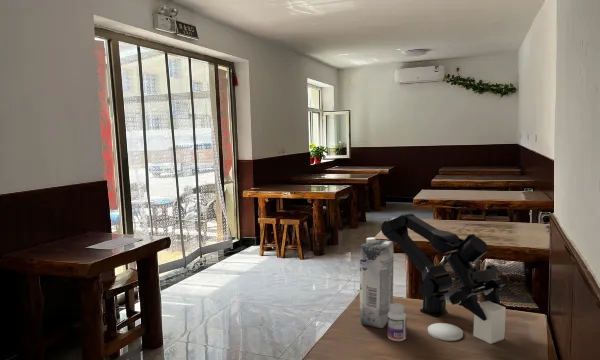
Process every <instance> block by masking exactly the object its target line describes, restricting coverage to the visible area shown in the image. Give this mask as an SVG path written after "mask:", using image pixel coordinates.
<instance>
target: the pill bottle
mask: <svg viewBox="0 0 600 360" xmlns="http://www.w3.org/2000/svg"><path fill="white" fill-rule="evenodd" d="M406 313H407V312H405V306H404V304H402V303H398V302H395V303H394V302H393V304H391V305H390V312H389V313H388V322H387V338H388V339H389V340H391V341H392V342H393V341H394V342H402V341H404V340H406V338H407V314H406Z"/></svg>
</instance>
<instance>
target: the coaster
mask: <svg viewBox="0 0 600 360" xmlns="http://www.w3.org/2000/svg"><path fill="white" fill-rule="evenodd" d="M427 333H428V335H430V337H433V338H435V339H437V340H440V341H447V342H449V341H450V342H452V341H453V342H454V341H459V340H460V339H462V338H463V336H464V331H463V330H462V329H461V328H460V327H458V325H457V326H456V325H454V324H451V323H446V322H445V323H444V322H437V323H432V324H430V325H429V326H428V327H427Z"/></svg>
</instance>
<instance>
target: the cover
mask: <svg viewBox="0 0 600 360" xmlns="http://www.w3.org/2000/svg"><path fill="white" fill-rule="evenodd" d="M478 303H479V305H480V307H481V308H482V310H483V312H484V314H485V316H486V318H487V320H485V321H483V320H482V319H480V318H479V317H478V316H476V315H475V314H474V313H473V332H472V333H473V335H472V336H473V337H476V338H477V339H480V340H482V341H484V342H486V343H488V344H490V345H491V344H494V343H497V342H500V341H503V340H504V339H505V329H506V310H507V309H506V308H507V307H506V306H503V305H498V304H495V303H493V302H490V301H486V300H485V301H482V302H478Z"/></svg>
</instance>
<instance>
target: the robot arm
mask: <svg viewBox="0 0 600 360" xmlns="http://www.w3.org/2000/svg"><path fill="white" fill-rule="evenodd" d="M380 228H381V229H380V230H381V233H382V234H383V236H384V237H386V239H388V241H392V242H393V243H394V244H395V243H396V244H397V245H398V246H399V248H400V249H401V250H402V251H403V252H404V254H405V256H407V258H408V259H409V260H410V261H411V262H412V264H413V265H414V267H416V269H417V270H418V271H419V273H420V274H421V280H422V283H423V284H421V285H420V286H419V287H418V291H419V294H420V295H421V296H422V297H423V298H422V308H421V309H419V312H422V313H425V314H427V315H430V316H433V317H435V318H436V317H439V316H441V315H443V314H445V313H447V312H448V309H446V308H447V301H446V295H445V294H449V292H450V289H452V287H453V279H452V278H453V277H452V276H451V275H450V274H451V273H450V272H449V271H447V269H446V268H445V266H446V265H449V266H450V267H451V269H452V271H453V272H454V274H455V276H456V277H455V278H454V280H455V281H456V282H460V284H461V286H462V287H457V289H456V290H454V291H453V292H452V293H450V294H449V298H448V299H449V301H450V303H451V304H452V305H453V306H454V305H457V304H458V306H459V307H461V306H462V307H463V308H465V310H467V311H469V312H471V313H472V314H473V315H474V314H475V315H476V316H478V317H479V318H480V319H482V320H483V321H485V320H487V318H486V316H485V314H484V312H483V310H482V308H481V307H480V305H479V303H480V302H478V294H482V293H483V294H484V296H483V297H482V298H483V299H484V300H485V301H490V302H493V303H495V304H498V305H501V300H500V291H501V290H502V288H503V287H504V286H505V285H506V283H505V282H504V281H503V279H502V278H500V277H498V275H499V273H500V270H498V268H497V267H496V266H495V264H490V265H486V267H485V269H483V270H480V268H479V267H477V266H475V267H474V265H473V264H472V263H475V262H477V261H478V260H479V259H480V258H482V257H483V255H485V254H487V253H488V250H489V247H488V244H487V243H486V242H485V241H484V240H483V239H482V238H480V237H478V236H476V235H475V233H472V234H468V235H467V236H466V238H465V239H463V238H461V237H459V236H458V235H457V234H456V233H454V232H451V231H447V230H442V229H438V228H436V227H435V226H433V225H431V224H429V223H428V222H427V221H424V220H423V219H421V218H419V217H417V216H416V215H415V214H414V213H403V214H401V215H400V216H398V217H395V218H393V219H391V220H385V221H383V222H382V224H381V227H380ZM409 230H410V231H413V232H414V233H416V234H417V235H419V236H420V237H422V238H423V239H425V240H427V241H428V242H429V243H430V245H431V247H432V248H433V250H435V251H436V252H438V254H441V255H442V254H443V255H444V254H447V255H444V256H443V261H442V264H443V265H442V264H439V265H435V264H433V262H431V260H430V259H429V257H427V255H426V254H425V253H424V252H423V251H422V250H421V248H420V247H419V246H418V245H417V244H416V242H415V241H414V240H413V239H412V238H411V237H410V235H409ZM448 253H450V254H449V255H448ZM501 306H502V305H501Z"/></svg>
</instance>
